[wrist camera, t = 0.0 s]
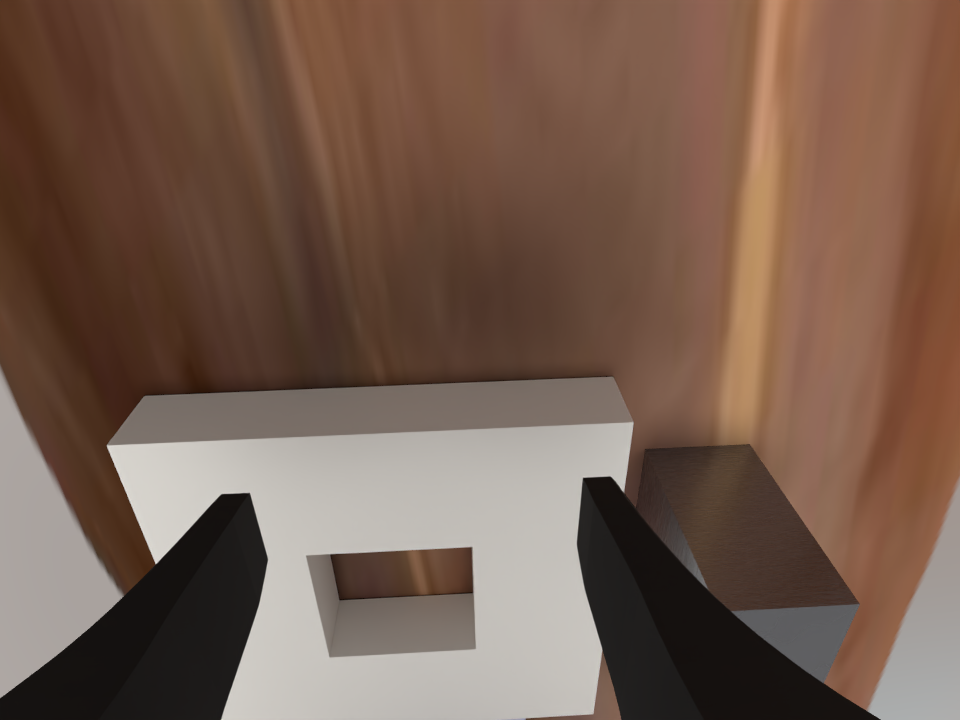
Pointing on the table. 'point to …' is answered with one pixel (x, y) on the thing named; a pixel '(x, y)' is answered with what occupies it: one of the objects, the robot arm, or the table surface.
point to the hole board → (396, 537)
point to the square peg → (748, 548)
